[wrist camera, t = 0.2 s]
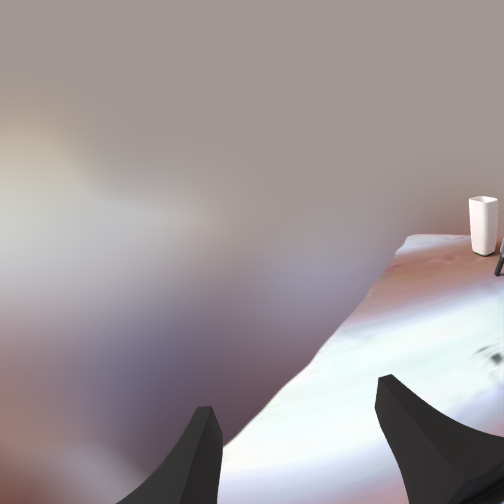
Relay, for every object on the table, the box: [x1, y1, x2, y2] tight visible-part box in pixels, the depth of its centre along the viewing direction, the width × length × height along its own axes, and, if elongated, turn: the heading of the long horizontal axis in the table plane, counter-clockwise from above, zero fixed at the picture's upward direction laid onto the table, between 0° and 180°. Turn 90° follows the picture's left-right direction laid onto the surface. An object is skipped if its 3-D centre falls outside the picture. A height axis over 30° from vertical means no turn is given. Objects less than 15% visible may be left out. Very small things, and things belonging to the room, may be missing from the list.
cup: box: [469, 196, 498, 256], centre depth 62 cm, size 7×7×15 cm
